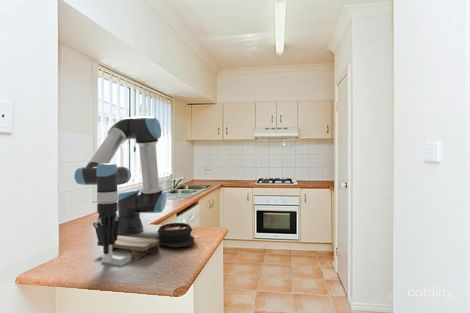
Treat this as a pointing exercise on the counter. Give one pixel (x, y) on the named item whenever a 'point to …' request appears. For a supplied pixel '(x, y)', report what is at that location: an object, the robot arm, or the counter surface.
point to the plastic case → (120, 256)
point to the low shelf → (136, 245)
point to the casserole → (175, 235)
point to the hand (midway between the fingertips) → (108, 260)
